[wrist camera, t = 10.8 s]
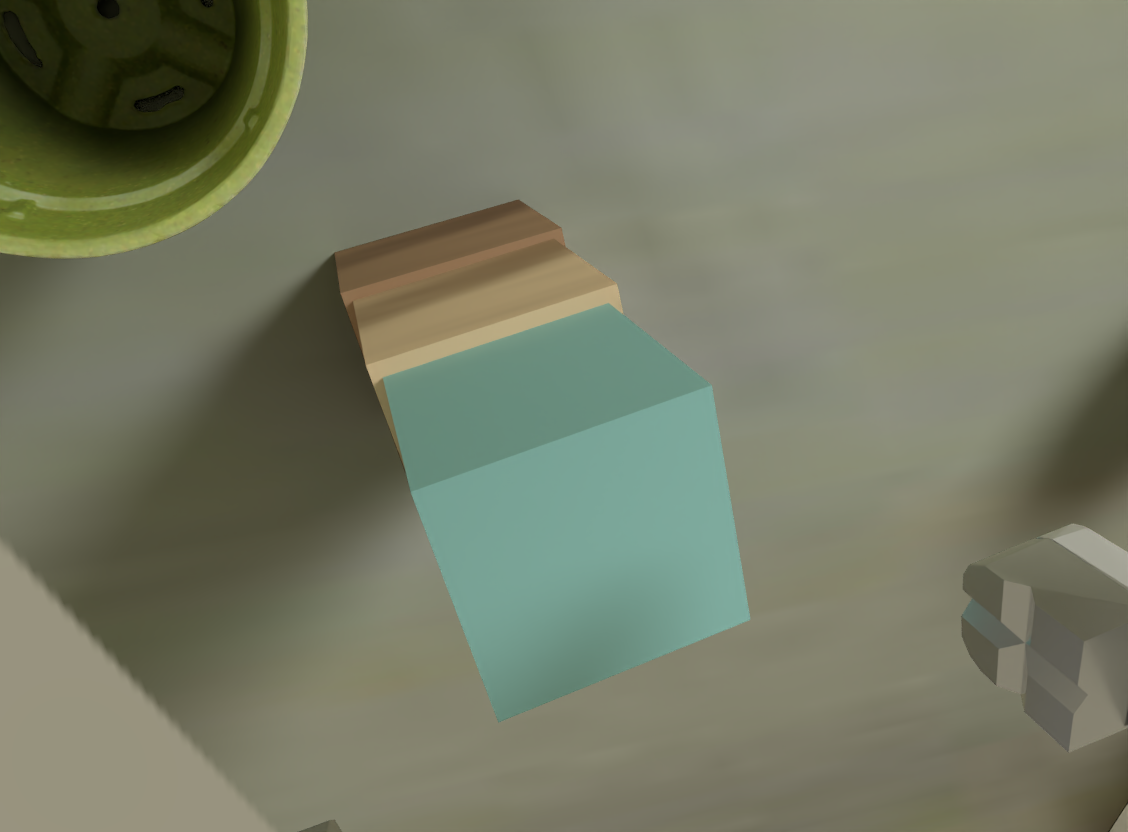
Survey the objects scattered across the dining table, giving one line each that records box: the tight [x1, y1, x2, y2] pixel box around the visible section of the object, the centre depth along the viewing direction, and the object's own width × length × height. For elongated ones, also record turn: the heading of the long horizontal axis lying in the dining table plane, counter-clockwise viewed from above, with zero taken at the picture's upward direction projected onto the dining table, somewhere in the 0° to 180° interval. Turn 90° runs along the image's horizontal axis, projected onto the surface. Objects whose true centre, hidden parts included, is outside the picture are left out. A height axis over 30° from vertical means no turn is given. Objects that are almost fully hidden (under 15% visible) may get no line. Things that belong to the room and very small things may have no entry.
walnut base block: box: [334, 200, 566, 476], centre depth 25 cm, size 6×6×5 cm
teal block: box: [383, 303, 750, 722], centre depth 16 cm, size 5×5×5 cm
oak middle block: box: [353, 239, 623, 468], centre depth 20 cm, size 6×6×5 cm
